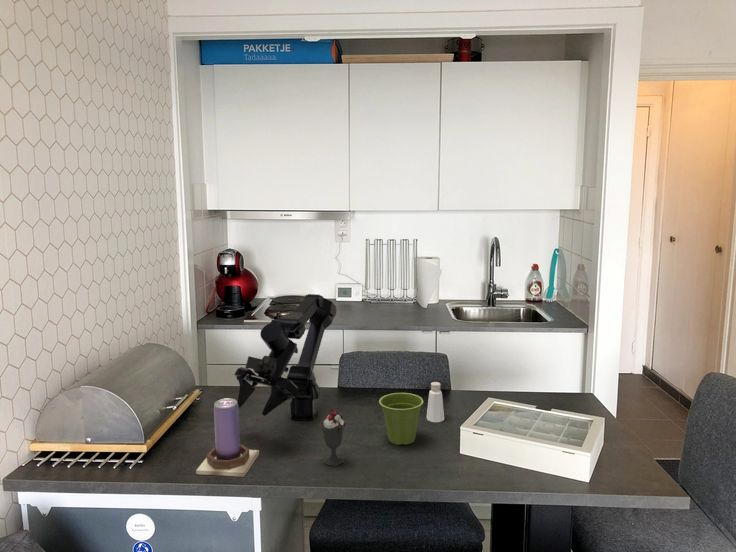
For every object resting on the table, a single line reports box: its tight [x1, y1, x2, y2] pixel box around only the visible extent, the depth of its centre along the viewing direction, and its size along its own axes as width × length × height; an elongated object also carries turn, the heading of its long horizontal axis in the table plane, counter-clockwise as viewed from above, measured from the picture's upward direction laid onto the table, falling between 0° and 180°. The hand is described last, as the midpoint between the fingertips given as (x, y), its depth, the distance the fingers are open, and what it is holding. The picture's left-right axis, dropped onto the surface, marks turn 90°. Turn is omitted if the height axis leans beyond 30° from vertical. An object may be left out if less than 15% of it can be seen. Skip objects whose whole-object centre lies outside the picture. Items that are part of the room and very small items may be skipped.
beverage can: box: [213, 397, 241, 460], centre depth 150 cm, size 6×6×15 cm
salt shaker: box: [426, 381, 445, 423], centre depth 176 cm, size 5×5×11 cm
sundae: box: [319, 407, 347, 467], centre depth 151 cm, size 7×7×15 cm
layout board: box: [195, 443, 260, 478], centre depth 151 cm, size 12×12×3 cm
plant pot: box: [378, 392, 424, 446], centre depth 163 cm, size 12×12×11 cm
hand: (250, 411), depth 156 cm, fingers open, 9 cm apart
